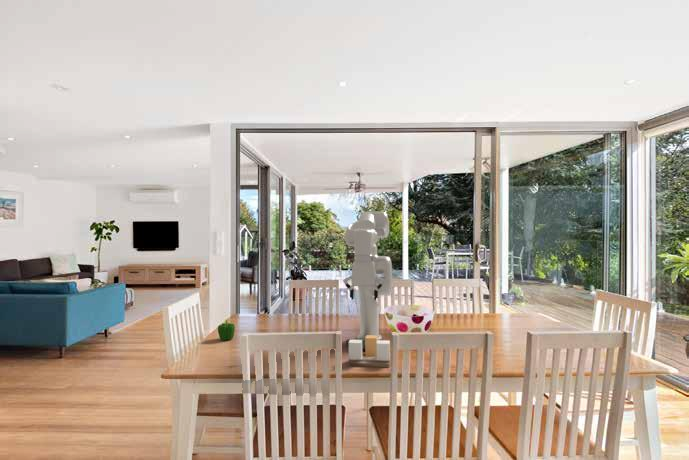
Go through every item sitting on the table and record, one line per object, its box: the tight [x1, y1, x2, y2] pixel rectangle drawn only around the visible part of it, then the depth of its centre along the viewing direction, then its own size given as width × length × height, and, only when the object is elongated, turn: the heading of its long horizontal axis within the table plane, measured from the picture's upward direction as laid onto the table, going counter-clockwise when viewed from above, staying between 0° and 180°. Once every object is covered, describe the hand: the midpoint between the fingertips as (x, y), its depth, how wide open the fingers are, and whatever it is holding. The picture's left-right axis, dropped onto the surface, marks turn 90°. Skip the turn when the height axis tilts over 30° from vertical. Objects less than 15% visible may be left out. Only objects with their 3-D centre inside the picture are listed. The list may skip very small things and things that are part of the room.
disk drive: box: [345, 338, 365, 353], centre depth 201 cm, size 10×3×15 cm
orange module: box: [364, 335, 377, 356], centre depth 190 cm, size 5×5×8 cm
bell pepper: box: [217, 319, 236, 341], centre depth 218 cm, size 8×8×10 cm
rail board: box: [347, 339, 391, 368], centre depth 178 cm, size 10×17×9 cm, turn 82°
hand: (363, 299), depth 178 cm, fingers open, 9 cm apart
